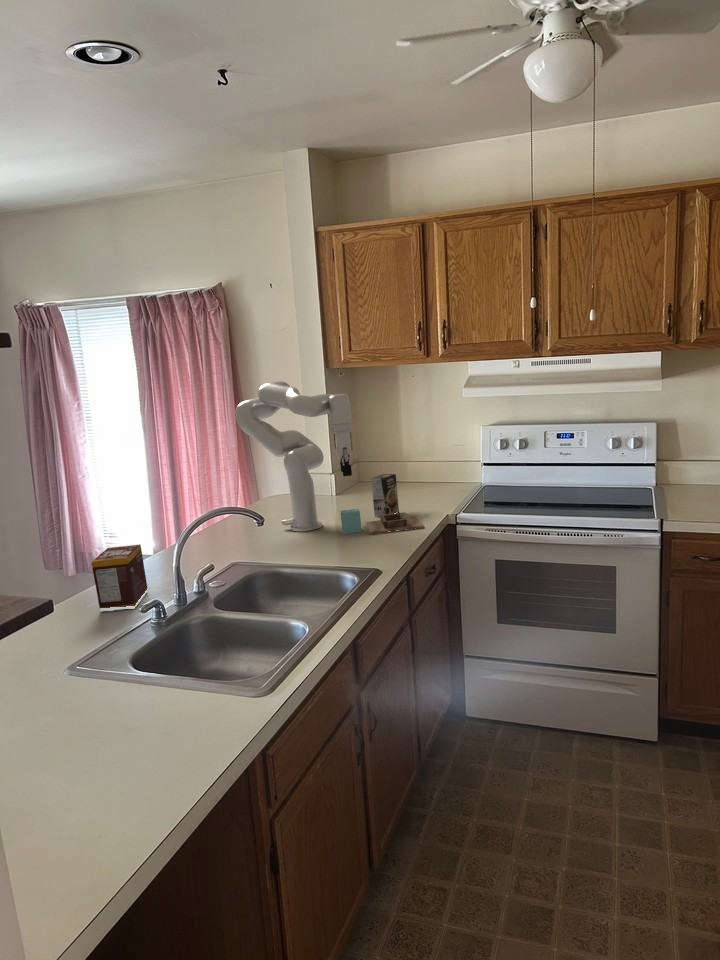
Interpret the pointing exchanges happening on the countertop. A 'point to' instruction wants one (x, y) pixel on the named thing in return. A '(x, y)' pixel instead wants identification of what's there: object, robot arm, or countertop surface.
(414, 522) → the keyed holder
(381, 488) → the coffee box
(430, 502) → the countertop surface
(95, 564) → the supplement box
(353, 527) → the keyed block
